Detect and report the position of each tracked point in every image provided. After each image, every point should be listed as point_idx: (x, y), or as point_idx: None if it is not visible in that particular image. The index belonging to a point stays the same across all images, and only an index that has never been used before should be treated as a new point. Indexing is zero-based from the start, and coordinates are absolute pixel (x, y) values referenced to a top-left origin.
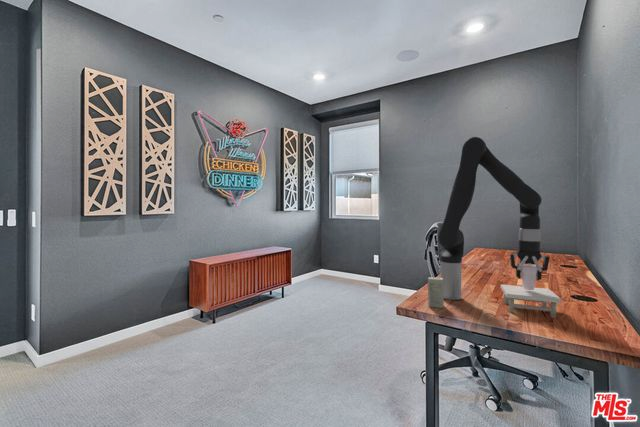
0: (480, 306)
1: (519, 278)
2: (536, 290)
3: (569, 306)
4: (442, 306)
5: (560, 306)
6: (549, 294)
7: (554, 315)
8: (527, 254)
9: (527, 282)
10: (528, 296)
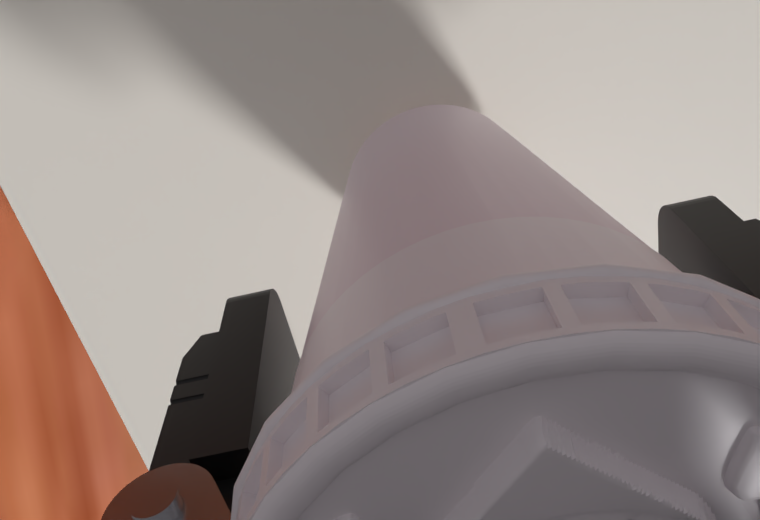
0: None
1: (690, 200)
2: (310, 309)
3: (43, 473)
4: None
5: (111, 428)
6: (98, 154)
7: None
8: None
9: (488, 144)
10: None
